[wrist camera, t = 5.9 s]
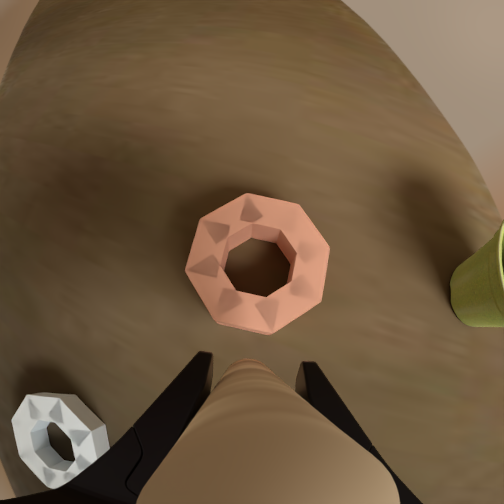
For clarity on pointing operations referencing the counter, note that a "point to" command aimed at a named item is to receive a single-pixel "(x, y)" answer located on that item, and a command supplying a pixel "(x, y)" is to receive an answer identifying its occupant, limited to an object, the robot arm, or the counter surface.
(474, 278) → the plant pot
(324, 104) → the counter surface
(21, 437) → the bead
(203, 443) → the dowel
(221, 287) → the bead ring
